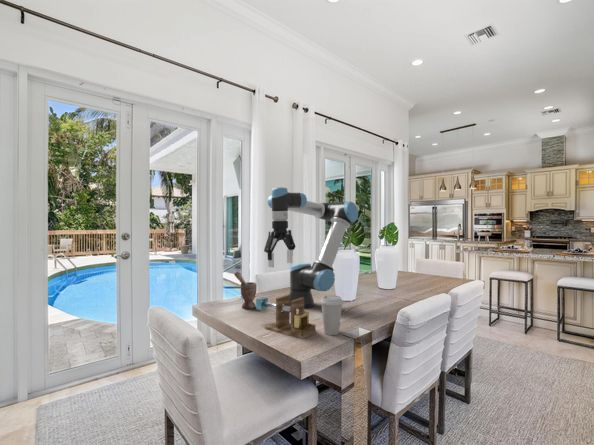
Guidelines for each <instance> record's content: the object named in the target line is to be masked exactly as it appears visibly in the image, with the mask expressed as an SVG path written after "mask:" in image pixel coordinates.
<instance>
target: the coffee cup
mask: <svg viewBox="0 0 594 445" xmlns="http://www.w3.org/2000/svg"><path fill="white" fill-rule="evenodd" d="M320 303H321V314H322V326H323V333H324V334H325V335H328V336H337V335H339V334H340V328H341V316H342V306H343V303H344V301H343V299H342V297H341V296H339V295H336V294H335V295H334V294H327V295H323V296H322V297H321V299H320Z"/></svg>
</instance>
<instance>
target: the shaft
mask: <svg viewBox="0 0 594 445" xmlns="http://www.w3.org/2000/svg"><path fill="white" fill-rule="evenodd" d="M268 300H269V298H268V297H264V296H262V297H259V298H256V299H255V301H256V302H255V305H256V307H255V309H256V310H260V311H262V310H265V309H268V308H269V309H273V310H276V302H270V301H268ZM282 311H286V312H290V313H289V314H291V307H290V306H285V305H284V304H283V305H282Z"/></svg>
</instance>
